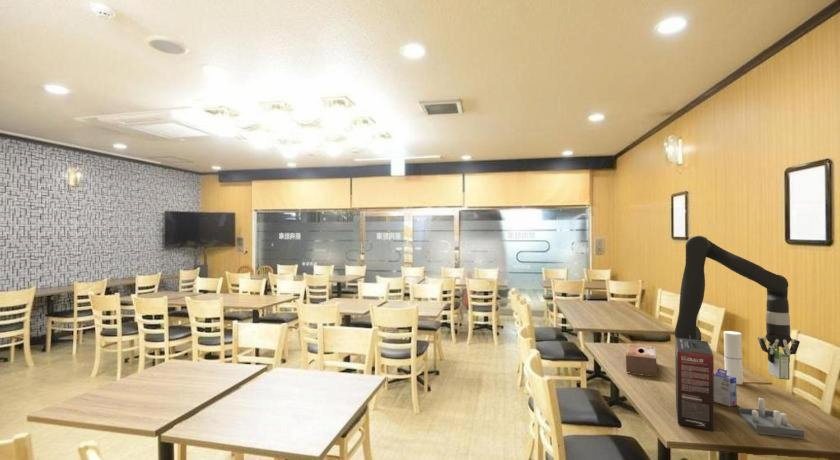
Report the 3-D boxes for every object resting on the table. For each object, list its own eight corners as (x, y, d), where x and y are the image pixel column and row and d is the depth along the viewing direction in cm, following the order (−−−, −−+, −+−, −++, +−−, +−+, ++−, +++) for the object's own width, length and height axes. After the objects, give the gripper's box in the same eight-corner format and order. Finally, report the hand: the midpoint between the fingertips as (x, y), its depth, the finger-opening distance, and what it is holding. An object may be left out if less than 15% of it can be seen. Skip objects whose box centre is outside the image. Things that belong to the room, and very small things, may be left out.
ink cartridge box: (737, 405, 178) (736, 372, 178) (731, 407, 176) (730, 374, 176) (713, 397, 187) (712, 365, 187) (706, 399, 184) (705, 367, 185)
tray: (757, 433, 153) (757, 411, 153) (739, 414, 169) (738, 394, 169) (804, 438, 148) (803, 416, 148) (780, 418, 164) (779, 398, 164)
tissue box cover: (656, 377, 214) (656, 358, 214) (626, 373, 221) (625, 355, 222) (655, 363, 237) (655, 346, 237) (628, 360, 244) (627, 343, 244)
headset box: (675, 402, 181) (673, 329, 182) (710, 408, 175) (707, 332, 175) (677, 425, 160) (675, 342, 161) (717, 432, 154) (714, 346, 154)
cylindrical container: (727, 383, 204) (726, 333, 204) (723, 378, 210) (721, 330, 211) (745, 385, 201) (743, 334, 201) (739, 380, 207) (738, 331, 208)
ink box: (790, 380, 166) (789, 347, 166) (779, 379, 166) (778, 347, 167) (779, 374, 172) (778, 342, 173) (768, 373, 173) (767, 342, 173)
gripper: (761, 323, 168) (762, 364, 168) (804, 325, 164) (805, 367, 164) (753, 319, 176) (754, 359, 175) (794, 321, 171) (795, 362, 171)
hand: (778, 362), depth 170 cm, fingers closed on ink box, 4 cm apart
